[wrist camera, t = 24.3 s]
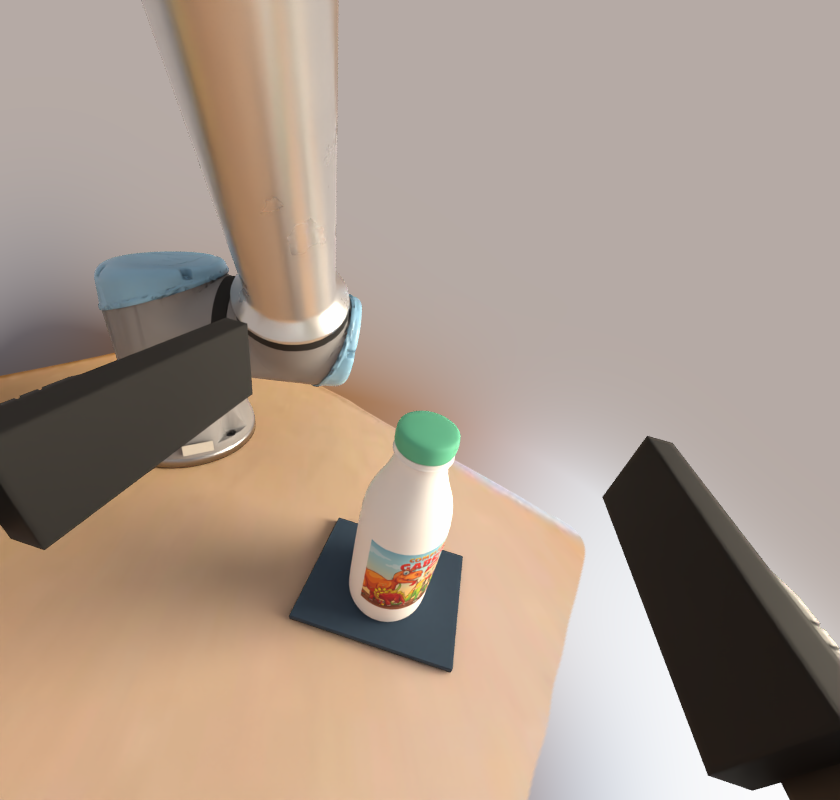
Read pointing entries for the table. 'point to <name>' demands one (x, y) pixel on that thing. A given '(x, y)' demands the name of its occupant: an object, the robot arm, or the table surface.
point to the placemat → (409, 637)
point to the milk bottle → (404, 519)
